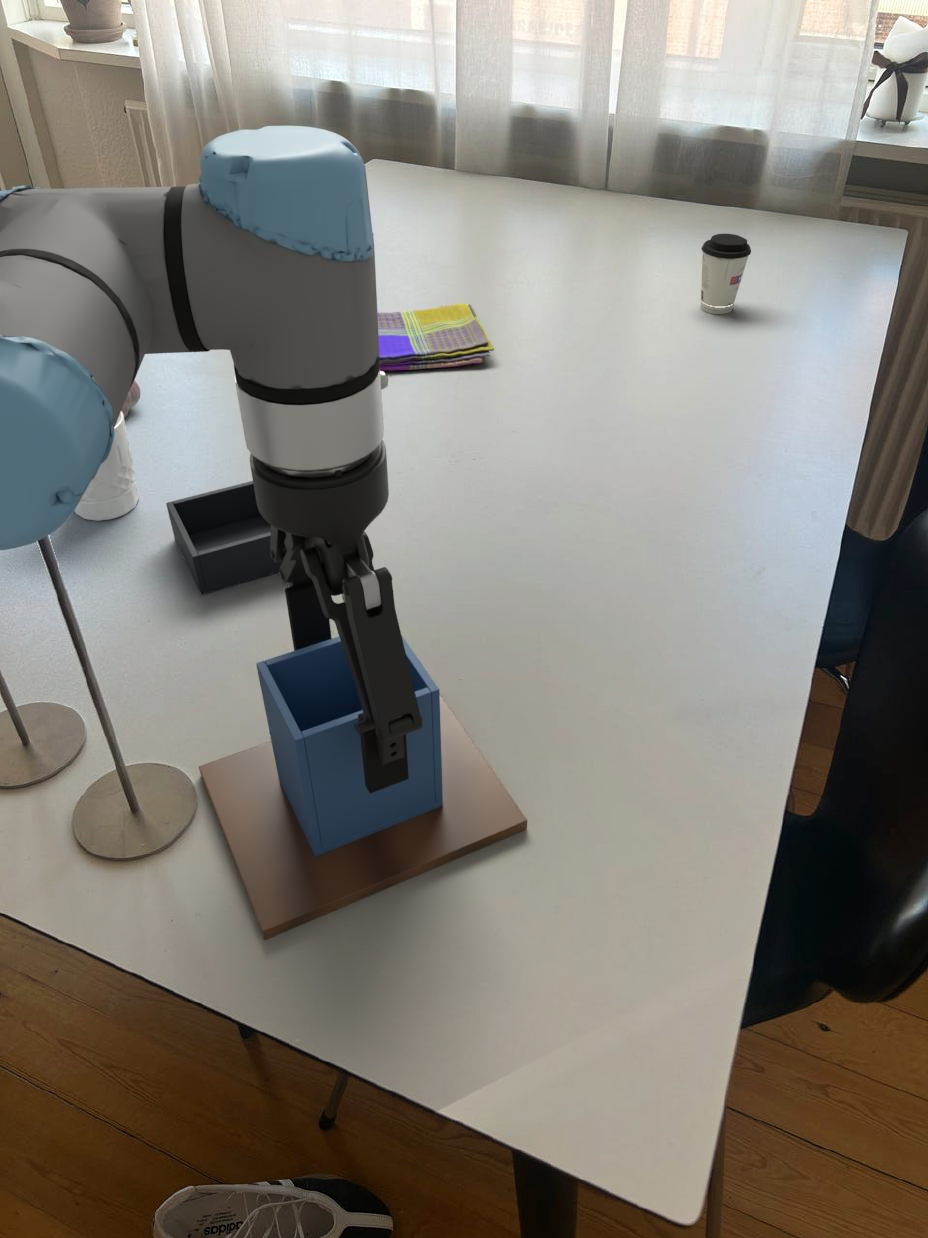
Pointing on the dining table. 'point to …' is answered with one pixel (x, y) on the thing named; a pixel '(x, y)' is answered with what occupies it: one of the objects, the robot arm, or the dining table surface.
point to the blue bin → (343, 747)
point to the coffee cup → (722, 271)
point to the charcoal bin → (223, 537)
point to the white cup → (112, 482)
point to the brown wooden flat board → (313, 886)
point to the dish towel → (431, 338)
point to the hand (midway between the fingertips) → (348, 714)
